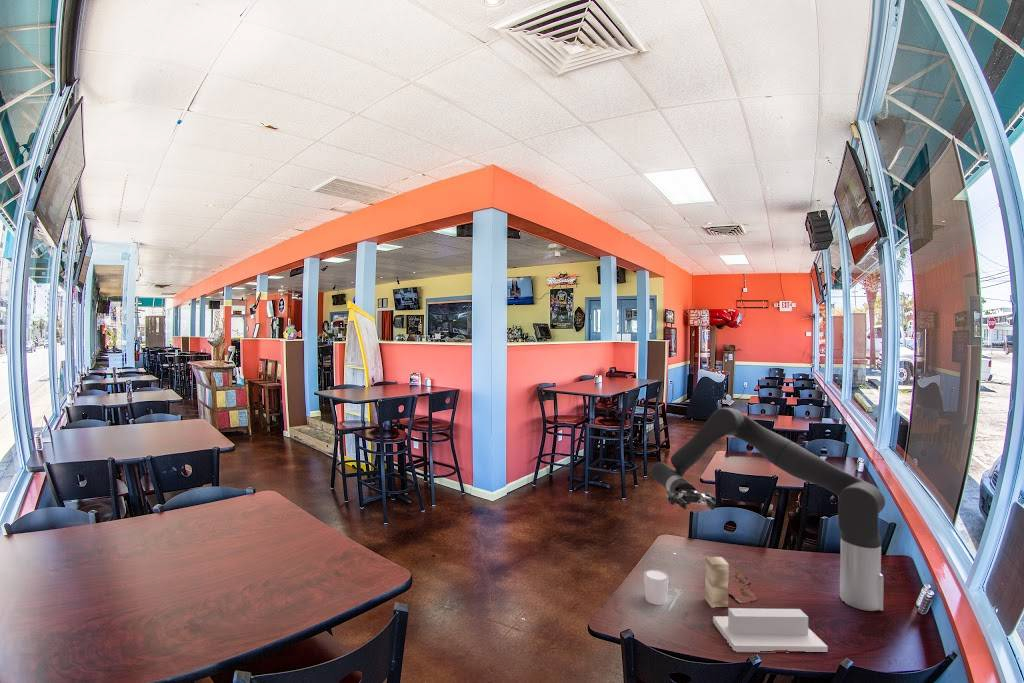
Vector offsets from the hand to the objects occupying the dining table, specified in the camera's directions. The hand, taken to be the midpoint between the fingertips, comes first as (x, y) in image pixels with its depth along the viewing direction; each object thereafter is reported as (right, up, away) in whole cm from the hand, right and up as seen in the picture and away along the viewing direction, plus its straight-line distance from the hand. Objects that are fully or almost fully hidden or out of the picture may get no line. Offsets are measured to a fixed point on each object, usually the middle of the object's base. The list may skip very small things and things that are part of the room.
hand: (699, 506), depth 147 cm
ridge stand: (+6, -23, -27) cm, 36 cm away
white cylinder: (-16, -23, -10) cm, 30 cm away
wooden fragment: (+10, -24, 0) cm, 26 cm away
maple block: (0, -23, -12) cm, 26 cm away
